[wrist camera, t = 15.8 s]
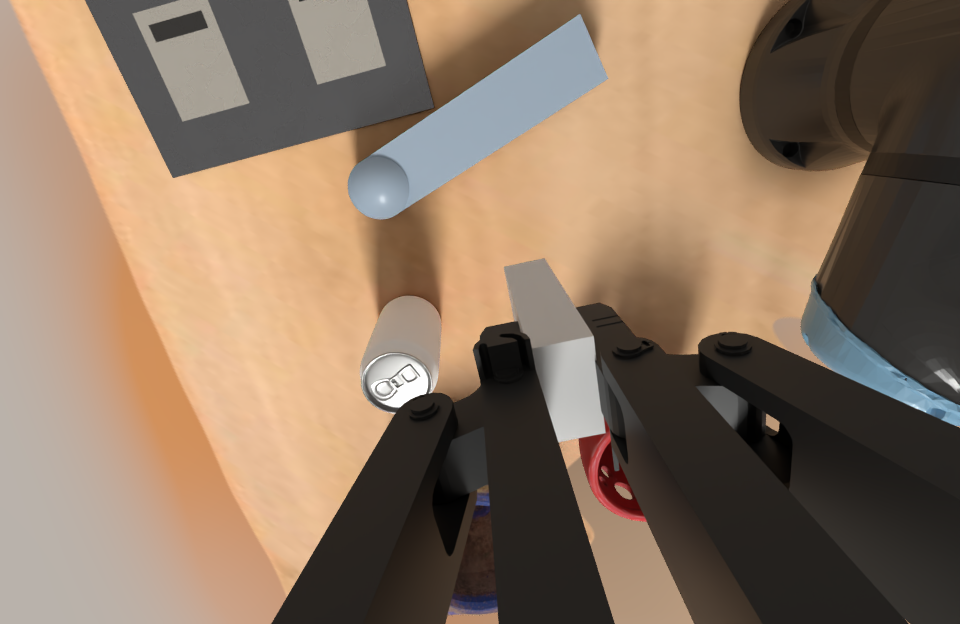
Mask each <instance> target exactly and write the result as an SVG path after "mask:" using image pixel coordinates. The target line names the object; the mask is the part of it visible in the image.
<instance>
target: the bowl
mask: <svg viewBox="0 0 960 624" xmlns="http://www.w3.org/2000/svg"><path fill="white" fill-rule="evenodd" d="M497 612H498V607H497V594H496V580H495V567H494V554H493V541H492V528H491V514H490V501H489V488H488V485H485V486H483V487H481V488H479V489H477V502H476V505H475V509H474V513H473V517H472V521H471V525H470V529H469V533H468V537H467V541H466V545H465V549H464V552H463V556H462V560H461V564H460V568H459V572H458V576H457V580H456V584H455V588H454V592H453V595H452V599H451V603H450V607H449V611H448V615H485V614H491V613H497Z"/></svg>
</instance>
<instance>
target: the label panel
mask: <svg viewBox="0 0 960 624" xmlns="http://www.w3.org/2000/svg"><path fill="white" fill-rule="evenodd" d="M85 1H86V3H87V5H88V7H89V9H90V11H91V13H92V15H93V17H94V19H95V21H96V23H97V25H98V27H99V29H100V31H101V33H102V36H103V38H104V40H105V42H106V44H107V46H108V48H109V50H110V52H111V54H112V56H113V58H114V60H115V62H116V64H117V66H118V68H119V70H120V72H121V74H122V76H123V78H124V80H125V82H126V84H127V86H128V88H129V90H130V92H131V94H132V96H133V98H134V100H135V102H136V104H137V106H138V108H139V110H140V112H141V114H142V116H143V118H144V120H145V122H146V124H147V126H148V128H149V130H150V132H151V134H152V136H153V138H154V141H155V143H156V145H157V147H158V149H159V151H160V153H161V155H162V157H163V159H164V161H165V163H166V165H167V167H168V169H169V171H170V173H171V175H172V177H173V178H175V177H179V176H182V175H186V174H190V173H194V172H197V171H201V170H205V169H208V168H212V167H216V166H220V165H223V164H227V163H231V162H234V161H238V160H242V159H246V158H249V157H253V156H257V155H260V154H264V153H268V152H272V151H275V150H279V149H283V148H287V147H290V146H294V145H298V144H301V143H305V142H309V141H313V140H316V139H320V138H324V137H327V136H331V135H335V134H339V133H342V132H346V131H350V130H353V129H357V128H361V127H365V126H368V125H372V124H376V123H379V122H383V121H387V120H391V119H394V118H398V117H402V116H405V115H409V114H413V113H417V112H420V111H424V110H428V109H431V108H434V105H433V101H432V97H431V93H430V89H429V85H428V82H427V78H426V74H425V70H424V66H423V62H422V59H421V55H420V51H419V47H418V43H417V39H416V35H415V32H414V28H413V24H412V20H411V16H410V12H409V8H408V5H407V1H406V0H85Z"/></svg>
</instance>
